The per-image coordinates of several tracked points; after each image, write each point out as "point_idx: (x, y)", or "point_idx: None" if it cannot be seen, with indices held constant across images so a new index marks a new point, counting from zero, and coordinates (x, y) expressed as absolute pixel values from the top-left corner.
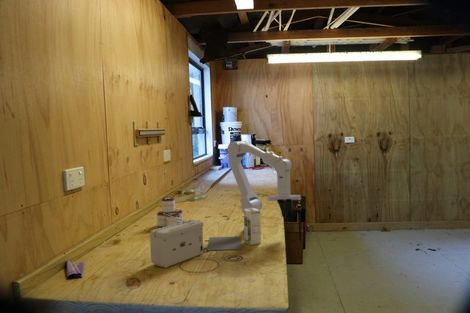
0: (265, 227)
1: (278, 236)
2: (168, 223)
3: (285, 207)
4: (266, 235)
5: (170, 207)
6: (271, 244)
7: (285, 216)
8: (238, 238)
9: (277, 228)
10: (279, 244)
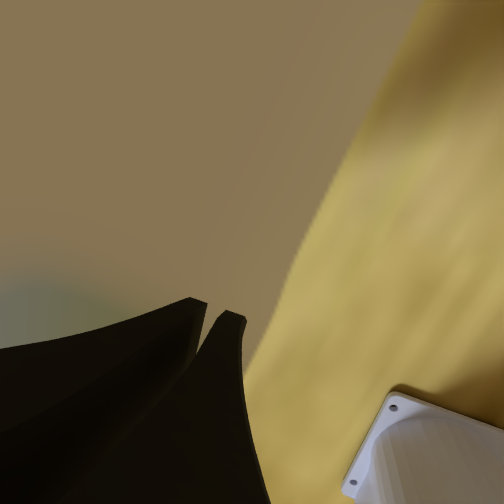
0: (293, 483)
1: (303, 280)
2: None
3: (113, 427)
4: (374, 339)
5: None
6: (469, 96)
7: (206, 305)
8: None
9: None
10: (400, 72)
